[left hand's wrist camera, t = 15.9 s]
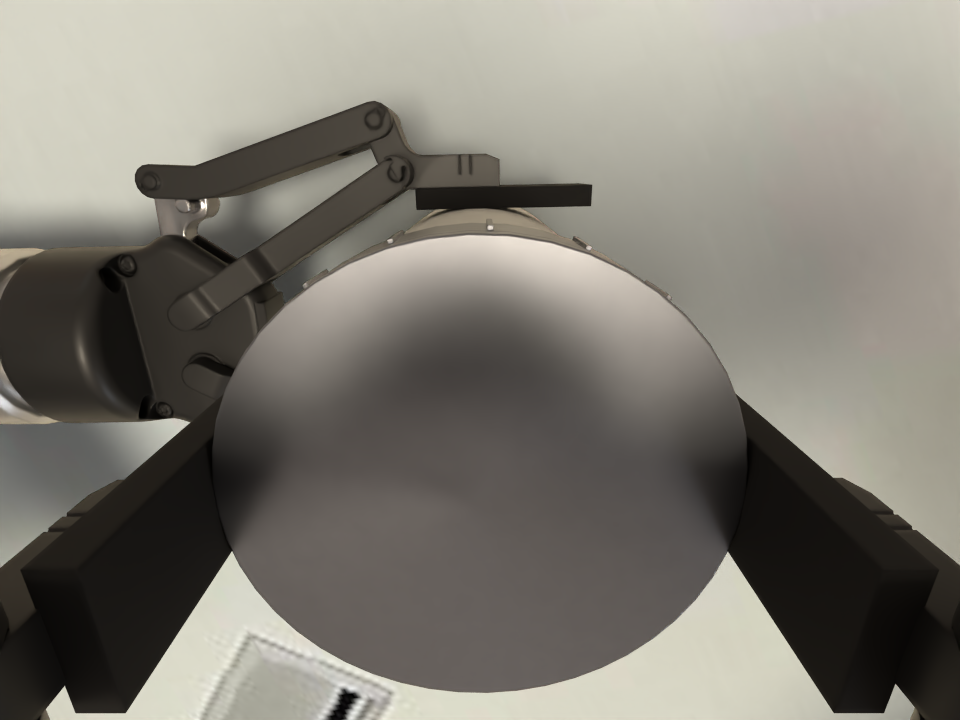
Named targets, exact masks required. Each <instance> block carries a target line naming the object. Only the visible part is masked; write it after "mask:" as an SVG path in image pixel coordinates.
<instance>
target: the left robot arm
mask: <svg viewBox="0 0 960 720" xmlns="http://www.w3.org/2000/svg"><path fill="white" fill-rule="evenodd" d="M223 396H224V394H223V395H222V396H221V397H220V398H218V399H217V400H216V401H215V402H214V403H213V404H212V405H210V406H209V407H208V408H207V409H206V410H205V411H203V412H202V413H201V414H200V415H199V416H198V417H196V418H195V419H194V420H193V421H192V422H191V423H190V424H188V425H187V426H186V427H185V428H184V429H183V430H181V431H180V432H179V433H178V434H177V435H176V436H174V437H173V438H172V439H171V440H170V441H169V442H168V443H166V444H165V445H164V446H163V447H162V448H161V449H159V450H158V451H157V452H156V453H155V454H154V455H152V456H151V457H150V458H149V459H148V460H147V461H146V462H144V463H143V464H142V465H141V466H140V467H139V468H137V469H136V470H135V471H134V472H133V473H132V474H130V475H129V476H128V477H127V478H126V479H125V480H116V481H114V482H113V483H111V484H109V485H107V486H105V487H103V488H101V489H99V490H97V491H96V492H94V493H92V494H90V495H88V496H87V497H86V498H85V499H83V500H82V501H81V502H80V503H79V504H77V505H76V506H75V507H74V508H72V509H71V510H70V511H69V512H68V513H67V516H66V517H62V518H60V519H59V520H58V521H57V522H55V523H54V524H53V525H52V526H51V527H49V528H48V529H49V530H48V532H43V533H42V534H41V535H40V536H38V537H37V538H36V539H35V540H34V541H32V542H31V543H30V544H29V545H28V546H26V547H25V548H24V549H23V550H21V551H20V552H19V553H18V554H17V555H15V556H14V557H13V558H12V559H11V560H9V561H8V562H7V563H6V564H4V565H3V566H2V567H1V568H0V720H50V718H49V716H48V714H47V711H46V708H47V707H48V706H49V704H50V703H51V702H52V701H53V699H54V698H55V697H56V696H57V694H58V693H59V692H60V691H61V690H62V688H63V687H64V686H65V687H66V689H67V692H68V695H69V697H70V700H71V702H72V705H73V708H74V710H75V713H126V712H127V710H128V709H129V707H130V706H131V704H132V703H133V701H134V700H135V698H136V697H137V695H138V693H139V692H140V690H141V689H142V687H143V686H144V684H145V683H146V681H147V680H148V678H149V677H150V675H151V674H152V672H153V671H154V669H155V668H156V666H157V664H158V663H159V661H160V660H161V658H162V657H163V655H164V654H165V652H166V651H167V649H168V648H169V646H170V645H171V643H172V642H173V640H174V639H175V637H176V635H177V634H178V632H179V631H180V629H181V628H182V626H183V625H184V623H185V622H186V620H187V619H188V617H189V616H190V614H191V613H192V611H193V610H194V608H195V607H196V605H197V603H198V602H199V600H200V599H201V597H202V596H203V594H204V593H205V591H206V590H207V588H208V587H209V585H210V584H211V582H212V581H213V579H214V578H215V576H216V574H217V573H218V571H219V570H220V568H221V567H222V565H223V564H224V562H225V561H226V559H227V558H228V556H229V555H230V553H231V552H232V549H231V547H230V545H229V543H228V541H227V539H226V536H225V533H224V530H223V527H222V524H221V521H220V518H219V515H218V510H217V505H216V500H215V495H214V489H213V483H212V446H213V439H214V431H215V424H216V419H217V415H218V412H219V409H220V405H221V402H222V399H223ZM736 396H737V399H738V401H739V404H740V409H741V413H742V418H743V422H744V427H745V431H746V438H747V454H748V475H747V485H746V494H745V499H744V503H743V508H742V512H741V516H740V520H739V524H738V527H737V530H736V532H735V534H734V537H733V539H732V542H731V544H730V547H729V549H728V552H729V554H730V555H731V557H732V558H733V560H734V561H735V563H736V564H737V566H738V567H739V569H740V570H741V572H742V573H743V575H744V577H745V578H746V580H747V581H748V583H749V584H750V586H751V587H752V589H753V590H754V592H755V593H756V595H757V596H758V598H759V599H760V601H761V602H762V604H763V605H764V607H765V609H766V610H767V612H768V613H769V615H770V616H771V618H772V619H773V621H774V622H775V624H776V625H777V627H778V628H779V630H780V631H781V633H782V634H783V636H784V638H785V639H786V641H787V642H788V644H789V645H790V647H791V648H792V650H793V651H794V653H795V654H796V656H797V657H798V659H799V660H800V662H801V663H802V665H803V667H804V668H805V670H806V671H807V673H808V674H809V676H810V677H811V679H812V680H813V682H814V683H815V685H816V686H817V688H818V689H819V691H820V692H821V694H822V696H823V697H824V699H825V700H826V702H827V703H828V705H829V706H830V708H831V709H832V711H833V712H834V713H884V712H885V709H886V706H887V704H888V701H889V699H890V696H891V693H892V691H893V688H894V686H895V683H896V685H897V686H898V687H899V688H900V689H901V691H902V692H903V693H904V694H905V696H906V697H907V698H908V699H909V701H910V702H911V703H912V704H913V705H914V707H915V709H914V711H913V714H912V716H911V718H910V720H960V565H959V564H957V563H956V562H955V561H954V560H952V559H951V558H950V557H949V556H948V555H946V554H945V553H944V552H943V551H941V550H940V549H939V548H938V547H937V546H935V545H934V544H933V543H932V542H930V541H929V540H928V539H927V538H926V537H924V536H923V535H922V534H921V533H919V532H918V531H917V530H912V526H911V525H910V524H908V523H907V522H906V521H905V520H904V519H902V518H901V517H900V516H899V515H894V513H893V510H891V509H890V508H889V507H888V506H886V505H885V504H884V503H883V502H882V501H880V500H879V499H878V498H877V497H875V496H874V495H873V494H872V493H870V492H868V491H866V490H864V489H862V488H861V487H859V486H857V485H855V484H853V483H851V482H849V481H847V480H845V479H843V478H833V477H831V476H830V475H829V474H828V473H827V472H826V471H825V470H823V469H822V468H821V467H820V466H819V465H818V464H816V463H815V462H814V461H813V460H812V459H811V458H809V457H808V456H807V455H806V454H805V453H804V452H803V451H801V450H800V449H799V448H798V447H797V446H796V445H794V444H793V443H792V442H791V441H790V440H789V439H787V438H786V437H785V436H784V435H783V434H782V433H781V432H779V431H778V430H777V429H776V428H775V427H774V426H772V425H771V424H770V423H769V422H768V421H767V420H765V419H764V418H763V417H762V416H761V415H760V414H759V413H757V412H756V411H755V410H754V409H753V408H752V407H750V406H749V405H748V404H747V403H746V402H745V401H743V400H742V399H741V398H740V397H739V396H738V395H737V394H736Z"/></svg>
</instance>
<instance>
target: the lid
mask: <svg viewBox="0 0 960 720" xmlns="http://www.w3.org/2000/svg"><path fill="white" fill-rule="evenodd" d="M302 287H303V288H304V290H303V291H301V292H300V293H299V294H297V295H296V296H295V297H294V298H292V299H291V300H290V301H288V302H287V303H286V304H285V305H284V306H283V307H282V308H281V309H280V310H279V311H278V312H277V313H276V314H275V315H274V316H273V317H272V318H271V319H270V320H269V322H268V323H267V324H266V325H265V326H264V327H263V328H262V329H261V330H260V331H259V333H258V334H257V335H256V337H255V338H254V340H253V341H252V343H251V344H250V345H249V347H248V348H247V349H246V350H245V352H244V354H243V356H242V357H241V358H240V360H239V362H238V364H237V366H236V368H235V370H234V373H233V375H232V377H231V379H230V381H229V383H228V385H227V387H226V389H225V392H224V396H223V399H222V402H221V405H220V409H219V412H218V415H217V419H216V424H215V431H214V439H213V446H212V483H213V489H214V495H215V500H216V505H217V510H218V515H219V518H220V521H221V524H222V527H223V530H224V533H225V536H226V539H227V541H228V543H229V545H230V547H231V549H232V551H233V553H234V555H235V557H236V559H237V561H238V563H239V565H240V567H241V568H242V570H243V571H244V573H245V574H246V576H247V577H248V579H249V580H250V582H251V583H252V585H253V586H254V588H255V589H256V591H257V592H258V593H259V594H260V595H261V596H262V597H263V598H264V600H265V601H266V602H267V603H268V604H269V605H270V606H271V608H272V609H273V610H274V611H275V612H276V613H277V614H278V615H279V616H280V617H282V618H283V619H284V620H285V621H286V622H287V623H288V624H289V625H290V626H292V627H293V628H294V629H295V630H296V631H297V632H299V633H300V634H302V635H303V636H304V637H306V638H307V639H309V640H310V641H311V642H313V643H314V644H316V645H317V646H318V647H320V648H321V649H323V650H325V651H327V652H329V653H330V654H332V655H334V656H336V657H337V658H339V659H341V660H343V661H345V662H347V663H349V664H351V665H354V666H356V667H358V668H361V669H363V670H365V671H367V672H370V673H372V674H375V675H378V676H381V677H385V678H388V679H391V680H394V681H397V682H400V683H405V684H410V685H414V686H419V687H424V688H428V689H436V690H445V691H453V692H477V693H491V692H505V691H518V690H524V689H530V688H536V687H541V686H547V685H551V684H554V683H558V682H562V681H565V680H569V679H573V678H576V677H579V676H581V675H584V674H587V673H589V672H592V671H595V670H597V669H600V668H602V667H604V666H606V665H608V664H610V663H612V662H614V661H616V660H618V659H620V658H622V657H624V656H626V655H628V654H630V653H631V652H633V651H634V650H636V649H638V648H639V647H641V646H642V645H644V644H645V643H647V642H649V641H650V640H652V639H653V638H654V637H656V636H657V635H658V634H659V633H661V632H662V631H663V630H664V629H665V628H667V627H668V626H669V625H670V624H672V623H673V622H674V621H675V620H676V619H677V618H678V617H679V616H680V615H681V614H682V613H683V612H684V611H685V610H686V609H687V608H688V607H689V606H690V605H691V604H692V603H693V602H694V601H695V600H696V599H697V597H698V596H699V595H700V593H701V592H702V591H703V589H704V588H705V587H706V585H707V584H708V583H709V582H710V580H711V579H712V578H713V576H714V574H715V573H716V571H717V569H718V567H719V566H720V564H721V562H722V560H723V559H724V557H725V555H726V554H727V552H728V549H729V547H730V544H731V542H732V539H733V537H734V534H735V532H736V530H737V527H738V524H739V520H740V516H741V512H742V508H743V503H744V499H745V494H746V485H747V475H748V454H747V438H746V431H745V427H744V422H743V418H742V413H741V409H740V404H739V401H738V399H737V396H736V394H735V391H734V389H733V386H732V384H731V381H730V379H729V376H728V374H727V372H726V370H725V368H724V367H723V365H722V363H721V362H720V360H719V358H718V357H717V355H716V353H715V352H714V350H713V348H712V347H711V345H710V343H709V342H708V341H707V340H706V338H705V337H704V336H703V335H702V334H701V332H700V331H699V330H698V329H697V328H696V326H695V325H694V324H693V323H692V322H691V320H690V319H689V318H688V317H687V316H686V315H685V314H684V313H683V312H682V311H681V310H680V309H679V308H677V307H676V306H675V305H674V304H673V303H672V302H671V301H670V300H671V299H672V297H671V296H670V295H669V294H667V293H666V292H664V291H662V290H661V289H659V288H658V287H656V286H655V285H653V284H652V283H650V282H648V281H647V280H646V281H645V282H644V281H643V280H641V279H640V278H638V277H637V276H635V275H634V274H632V273H631V272H629V271H628V270H626V269H625V268H623V267H622V266H620V265H619V264H617V263H616V262H614V261H613V260H611V259H610V258H608V257H606V256H605V255H603V254H601V253H599V252H597V251H595V250H593V249H592V246H590V245H589V244H587V243H586V242H584V241H582V240H581V239H579V238H578V237H575V236H574V237H573V239H572V240H571V239H568V238H565V237H562V236H559V235H556V234H552V233H549V232H546V231H543V230H539V229H533V228H527V227H521V226H516V225H510V224H495V223H493V222H492V219H486V223H463V224H453V225H444V226H435V227H431V228H427V229H423V230H419V231H415V232H410V233H406V234H404V231H403V230H402V231H398V232H397V233H396V234H394V235H393V236H392V237H390V238H389V239H387V241H385V242H382V243H379V244H377V245H374V246H372V247H370V248H368V249H366V250H364V251H363V252H361V253H359V254H357V255H356V256H354V257H352V258H350V259H349V260H347V261H345V262H343V263H342V264H340V265H339V266H337V267H335V268H334V269H332V270H331V271H328V270H327V269H326V270H325V271H323V272H321V273H320V274H318V275H317V276H315V277H313V278H312V279H310V280H309V281H307V282H305V283H304V284H303V285H302Z"/></svg>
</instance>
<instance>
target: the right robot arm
mask: <svg viewBox="0 0 960 720" xmlns="http://www.w3.org/2000/svg"><path fill="white" fill-rule="evenodd" d="M368 149H372V152H373V154H374V156H375V159H376V161H377V163H378V165H376V166H375V167H373V168H372V169H370V170H369V171H368V172H366V173H365V174H363V175H362V176H360V177H359V178H357V179H356V180H355V181H353V182H352V183H350V184H349V185H347V186H346V187H344V188H343V189H341V190H340V191H339V192H337V193H336V194H334V195H333V196H331V197H330V198H328V199H327V200H326V201H324V202H323V203H321V204H320V205H318V206H317V207H315V208H314V209H313V210H311V211H310V212H308V213H307V214H305V215H304V216H302V217H301V218H299V219H298V220H297V221H295V222H294V223H292V224H291V225H289V226H288V227H286V228H285V229H284V230H282V231H281V232H279V233H278V234H276V235H275V236H273V237H272V238H270V239H269V240H268V241H266V242H265V243H263V244H262V245H260V246H259V247H257V248H256V249H254V250H252V251H250V252H248V253H247V254H245V255H243V256H242V257H240V258H239V259H237V258H236V257H234V256H232V255H231V254H229V253H228V252H226V251H224V250H223V249H221V248H220V247H218V246H216V245H215V244H213V243H212V242H210V241H208V240H207V239H205V238H204V237H202V236H200V235H198V234H197V228H198V225H199V223H200V222H201V221H202V220H204V219H207V218H211V217H213V216H215V215H216V214H217V212H218V210H219V206H220V200H219V198H221V197H230V196H237V195H241V194H245V193H248V192H251V191H254V190H257V189H260V188H262V187H265V186H268V185H271V184H274V183H276V182H279V181H282V180H285V179H288V178H290V177H293V176H296V175H299V174H301V173H304V172H307V171H310V170H313V169H315V168H318V167H321V166H324V165H327V164H329V163H332V162H335V161H338V160H341V159H343V158H346V157H349V156H352V155H355V154H357V153H360V152H363V151H366V150H368ZM135 182H136V185H137V188H138V189H139V190H140V191H141V193H142V194H144V195H145V196H147V197H149V198H154V199H155V205H156V210H157V216H158V222H159V227H160V233H161V237H158V238H157V239H155V240H154V241H152V242H151V243H149V244H148V245H146V246H109V247H62V248H52V249H48V250H43V249H37V248H15V249H0V424H50V423H56V422H67V423H97V422H143V421H153V420H160V419H168V418H177V419H182V420H185V421H188V422H192V421H193V420H194V419H195V418H196V417H198V416H199V415H200V414H201V413H202V412H203V411H205V410H206V409H207V408H208V407H209V406H210V405H212V404H213V403H214V402H215V401H216V400H217V399H218V398H220V397H221V396H222V395H223V394H224V392H225V389H226V387H227V385H228V383H229V381H230V379H231V377H232V375H233V373H234V370H235V368H236V366H237V364H238V362H239V360H240V358H241V357H242V356H243V354H244V352H245V350H246V349H247V348H248V347H249V345H250V344H251V343H252V341H253V340H254V338H255V337H256V335H257V334H258V333H259V331H260V330H261V329H262V328H263V327H264V326H265V325H266V324H267V323H268V322H269V320H270V319H271V318H272V317H273V316H274V315H275V314H276V313H277V312H278V311H279V310H280V309H281V308H282V307H283V306H284V301H283V294H282V292H277V290H276V288H275V287H274V285H273V284H272V283H271V282H272V281H274V280H275V279H277V278H278V277H280V276H281V275H283V274H284V273H286V272H287V271H289V270H290V269H292V268H293V267H295V266H296V265H297V264H298V263H300V262H301V261H303V260H304V259H306V258H307V257H309V256H310V255H312V254H313V253H315V252H316V251H318V250H319V249H321V248H322V247H324V246H325V245H327V244H328V243H330V242H331V241H333V240H334V239H336V238H337V237H339V236H340V235H342V234H343V233H344V232H346V231H347V230H349V229H350V228H352V227H353V226H355V225H356V224H358V223H359V222H361V221H362V220H364V219H365V218H367V217H368V216H370V215H371V214H373V213H374V212H376V211H377V210H379V209H380V208H382V207H383V206H385V205H386V204H388V203H389V202H391V201H392V200H394V199H395V198H397V197H398V196H400V195H401V194H403V193H404V192H406V191H407V190H412V189H415V191H416V208H417V210H433V209H480V208H526V207H572V206H591V197H592V185H589V184H579V183H575V184H530V185H500V175H499V159H497V158H495V157H492V156H490V155H487V154H460V155H419V154H417V153H415V152H414V151H413V150H412V149H411V148H410V146H409V144H408V142H407V140H406V137H405V135H404V132H403V130H402V127H401V123H400V119H399V118H398V116H397V115H396V114H395V113H394V112H393V111H392V110H390V109H389V108H387V107H386V106H384V105H383V104H382V103H379V102H376V101H371V102H367V103H364V104H361V105H358V106H356V107H353V108H350V109H348V110H345V111H342V112H339V113H337V114H334V115H331V116H329V117H326V118H323V119H320V120H318V121H315V122H312V123H310V124H307V125H304V126H302V127H299V128H296V129H293V130H291V131H288V132H285V133H283V134H280V135H277V136H274V137H272V138H269V139H266V140H264V141H261V142H258V143H255V144H253V145H250V146H247V147H245V148H242V149H239V150H236V151H234V152H231V153H228V154H226V155H223V156H220V157H218V158H215V159H212V160H209V161H207V162H204V163H201V164H199V165H196V166H190V165H155V164H147V165H142V166H141V167H140V168H138V169H137V171H136V174H135Z"/></svg>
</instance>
